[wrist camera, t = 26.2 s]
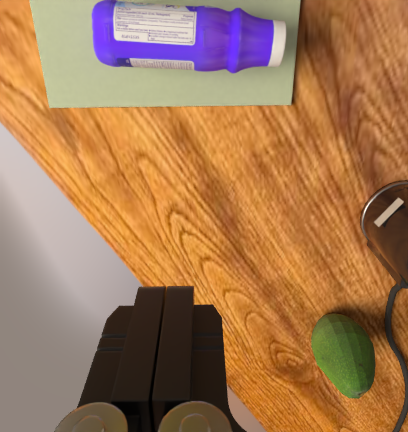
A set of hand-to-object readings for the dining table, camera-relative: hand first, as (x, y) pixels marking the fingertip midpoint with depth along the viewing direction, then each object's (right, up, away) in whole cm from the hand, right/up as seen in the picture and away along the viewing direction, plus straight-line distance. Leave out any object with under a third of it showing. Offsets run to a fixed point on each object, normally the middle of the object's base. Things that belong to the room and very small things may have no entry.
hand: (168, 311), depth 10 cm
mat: (-3, +21, +28) cm, 36 cm away
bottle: (-9, +20, +25) cm, 33 cm away
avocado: (+20, -13, +46) cm, 52 cm away
